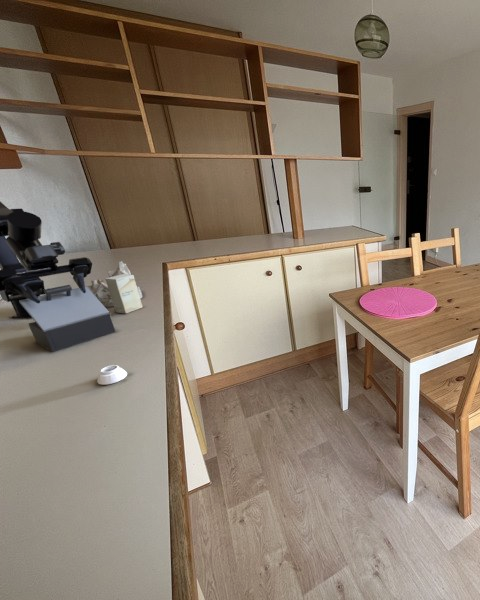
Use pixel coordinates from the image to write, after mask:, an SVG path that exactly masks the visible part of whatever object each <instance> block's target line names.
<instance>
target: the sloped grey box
mask: <svg viewBox="0 0 480 600" xmlns="http://www.w3.org/2000/svg"><path fill="white" fill-rule="evenodd" d="M28 328H29V329H30V331H31V333H32V336H33V338H34V340H35V342H36V343H37V344H38V345H40V346H42V347H43V348H45V349H46V350H48V351H50V352H52V353H54V352H57V351H61V350H63V349H66V348H70V347H74V346H75V345H76V346H77V345H79V344H82V343H86V342H88V341H92V340H94V339H98V338H101V337H103V336H108V335H110V334H112V333H116V328H115V326H114V324H113V319H112V317H111V314H110V313H109V314H105V315H102V316H98V317H95V318H91V319H88V320H84V321H80V322H77V323H73V324H70V325H66V326H63V327H59V328H55V329H52V330H48V331H45V332H43V330H42V329H41V328H40V327H39V325H38V324H37V323H36V322H35V321H33V322H29V323H28Z"/></svg>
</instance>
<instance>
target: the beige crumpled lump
mask: <svg viewBox="0 0 480 600" xmlns="http://www.w3.org/2000/svg"><path fill="white" fill-rule="evenodd" d="M129 269H130V268H129V267H128V266H127V263H124V262H123V261H118V266H117V268H116V270H109V271H107V274H108V278H110V277H113V276H118V275H121V274H130V275H132V274H131V271H130V270H129ZM86 286H87V287H88V288H89V290H90V291H91V292H92V293H93V294H94V295H95V296H96V298H97V299H98V300H99V301H100V302H101V303H102V304H103V306H104V307H105V308H111V307H114V305H113V301H112V298H111V295H110V292H109V289H108V286H107V283H106V280H105V279H102V278H98V279H94V280H91V285H86ZM136 286H137V284H136ZM137 289H138V293H139V296H140V299H142V298H143V293H142V290H141V287H140V286H137Z"/></svg>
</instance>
